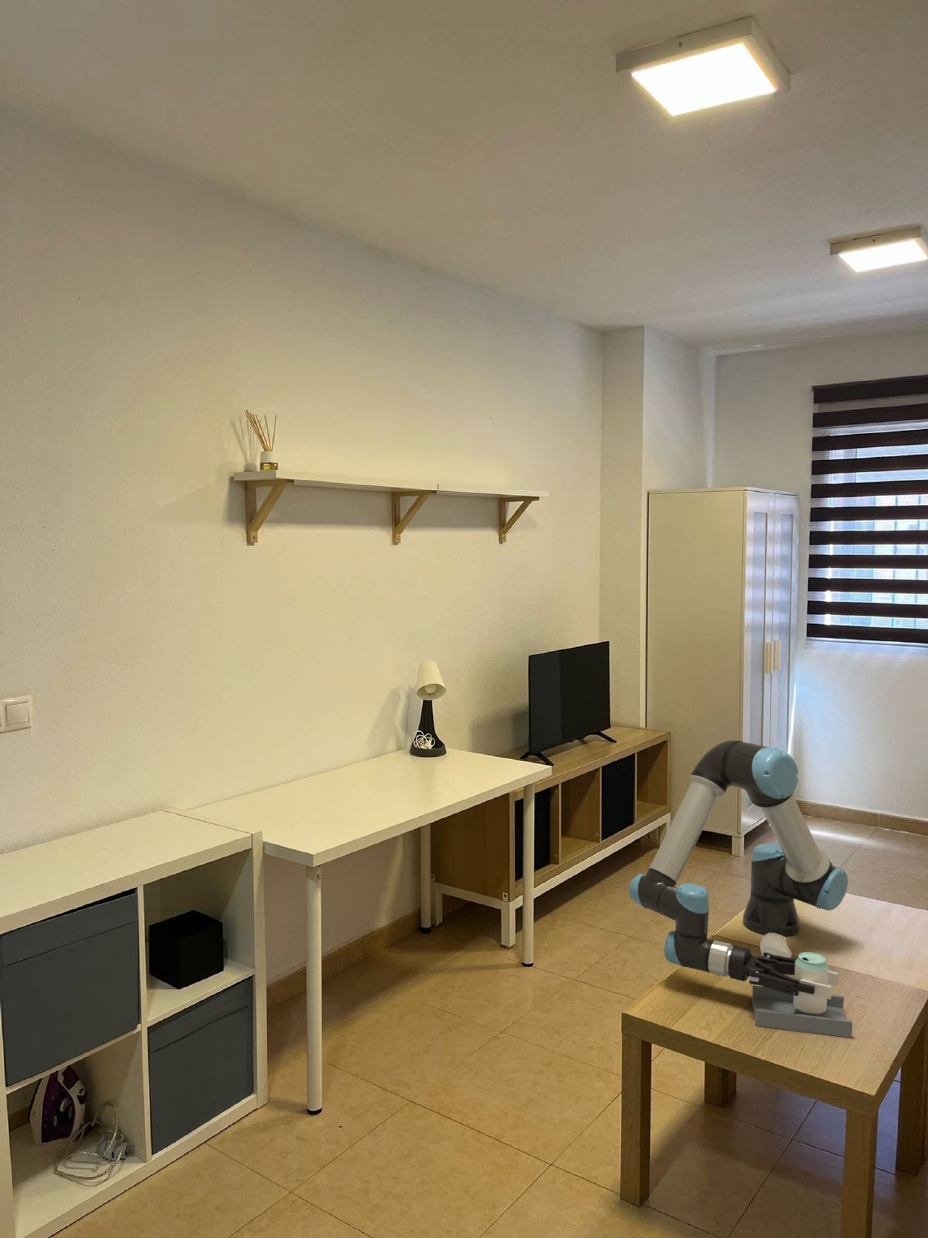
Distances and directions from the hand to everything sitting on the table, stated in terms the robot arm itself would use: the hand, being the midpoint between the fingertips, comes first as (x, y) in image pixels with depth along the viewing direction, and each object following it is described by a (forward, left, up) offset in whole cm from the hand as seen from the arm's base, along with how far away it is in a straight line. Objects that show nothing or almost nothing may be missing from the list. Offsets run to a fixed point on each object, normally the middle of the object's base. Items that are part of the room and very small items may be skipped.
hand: (834, 986), depth 212 cm
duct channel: (-2, -7, -9) cm, 11 cm away
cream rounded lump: (-30, -10, -9) cm, 33 cm away
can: (-2, -5, -7) cm, 8 cm away
